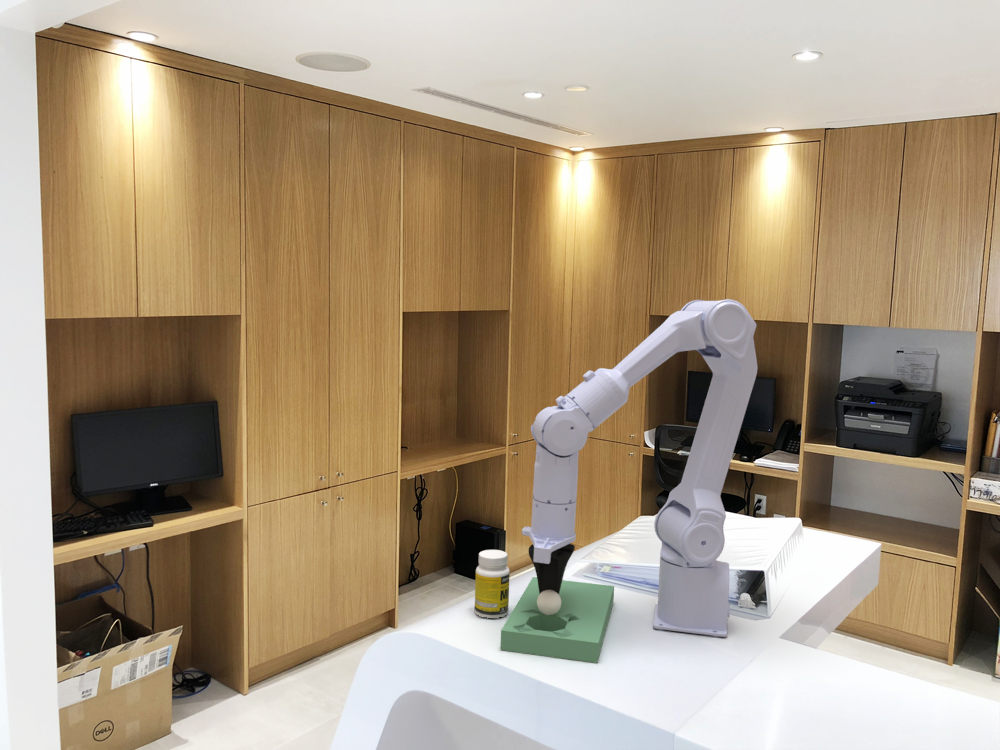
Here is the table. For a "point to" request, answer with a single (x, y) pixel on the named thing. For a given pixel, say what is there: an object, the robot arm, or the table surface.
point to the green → (561, 622)
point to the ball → (549, 602)
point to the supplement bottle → (492, 584)
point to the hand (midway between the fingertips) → (548, 599)
